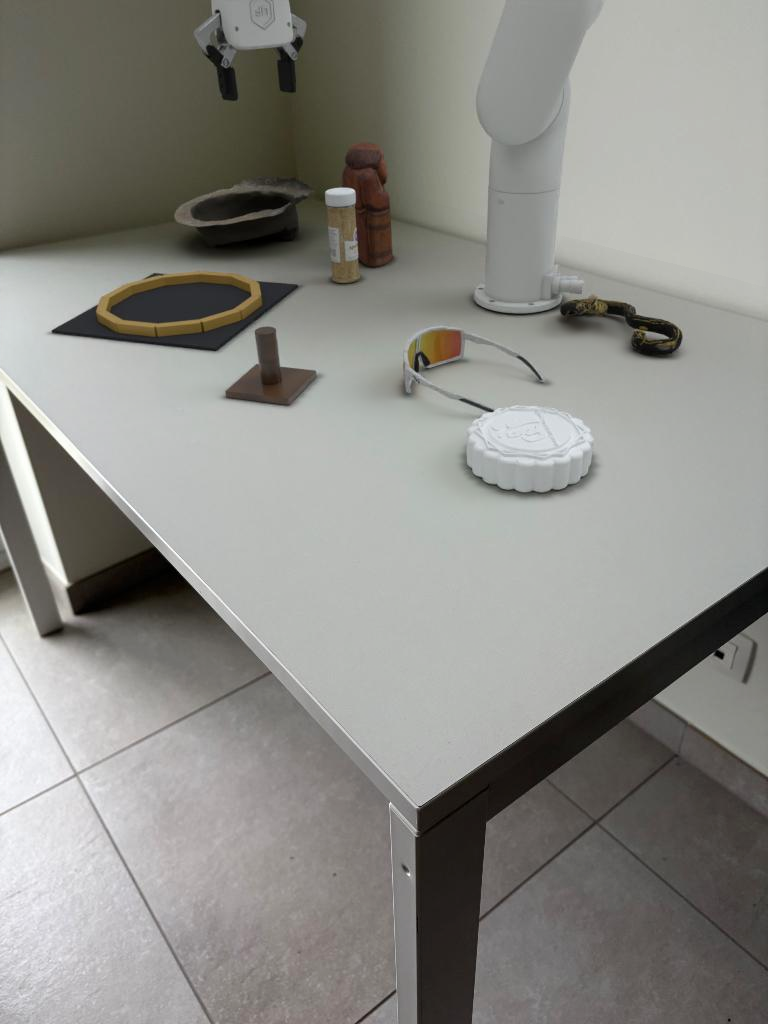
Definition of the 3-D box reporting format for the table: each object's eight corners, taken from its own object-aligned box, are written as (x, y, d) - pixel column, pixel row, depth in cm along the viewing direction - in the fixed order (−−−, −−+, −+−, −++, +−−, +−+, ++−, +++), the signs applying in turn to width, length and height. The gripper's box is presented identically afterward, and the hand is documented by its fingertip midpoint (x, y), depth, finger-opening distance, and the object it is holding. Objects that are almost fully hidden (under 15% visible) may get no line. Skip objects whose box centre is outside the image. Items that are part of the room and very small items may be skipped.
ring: (287, 286, 123) (286, 277, 123) (212, 343, 105) (210, 333, 104) (157, 275, 130) (155, 267, 129) (65, 327, 112) (63, 318, 111)
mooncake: (456, 436, 83) (456, 405, 81) (569, 427, 83) (573, 396, 81) (479, 499, 73) (480, 465, 71) (607, 488, 73) (612, 454, 71)
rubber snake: (695, 314, 95) (618, 332, 93) (692, 350, 97) (617, 368, 96) (619, 274, 109) (552, 289, 108) (618, 307, 112) (552, 322, 110)
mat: (298, 286, 124) (297, 284, 124) (216, 350, 104) (215, 348, 104) (154, 275, 132) (154, 272, 132) (52, 332, 112) (51, 330, 111)
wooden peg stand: (316, 376, 96) (311, 320, 92) (288, 405, 90) (282, 347, 86) (257, 369, 99) (249, 314, 95) (226, 397, 92) (216, 340, 88)
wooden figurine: (402, 263, 132) (399, 145, 122) (366, 269, 130) (360, 150, 120) (373, 246, 141) (368, 135, 131) (340, 251, 139) (332, 139, 129)
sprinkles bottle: (361, 282, 125) (356, 192, 117) (332, 285, 124) (325, 194, 117) (358, 273, 128) (353, 185, 121) (330, 276, 128) (323, 187, 120)
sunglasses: (442, 349, 101) (447, 312, 98) (549, 391, 95) (558, 353, 92) (377, 391, 92) (380, 352, 89) (491, 441, 86) (499, 401, 82)
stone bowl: (338, 225, 152) (333, 174, 146) (269, 275, 135) (261, 219, 129) (229, 214, 161) (221, 165, 155) (152, 258, 144) (139, 206, 138)
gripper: (198, -54, 96) (220, 105, 105) (314, -56, 105) (324, 90, 114) (168, -51, 100) (192, 101, 110) (282, -53, 109) (294, 87, 119)
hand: (259, 95), depth 112 cm, fingers open, 9 cm apart
